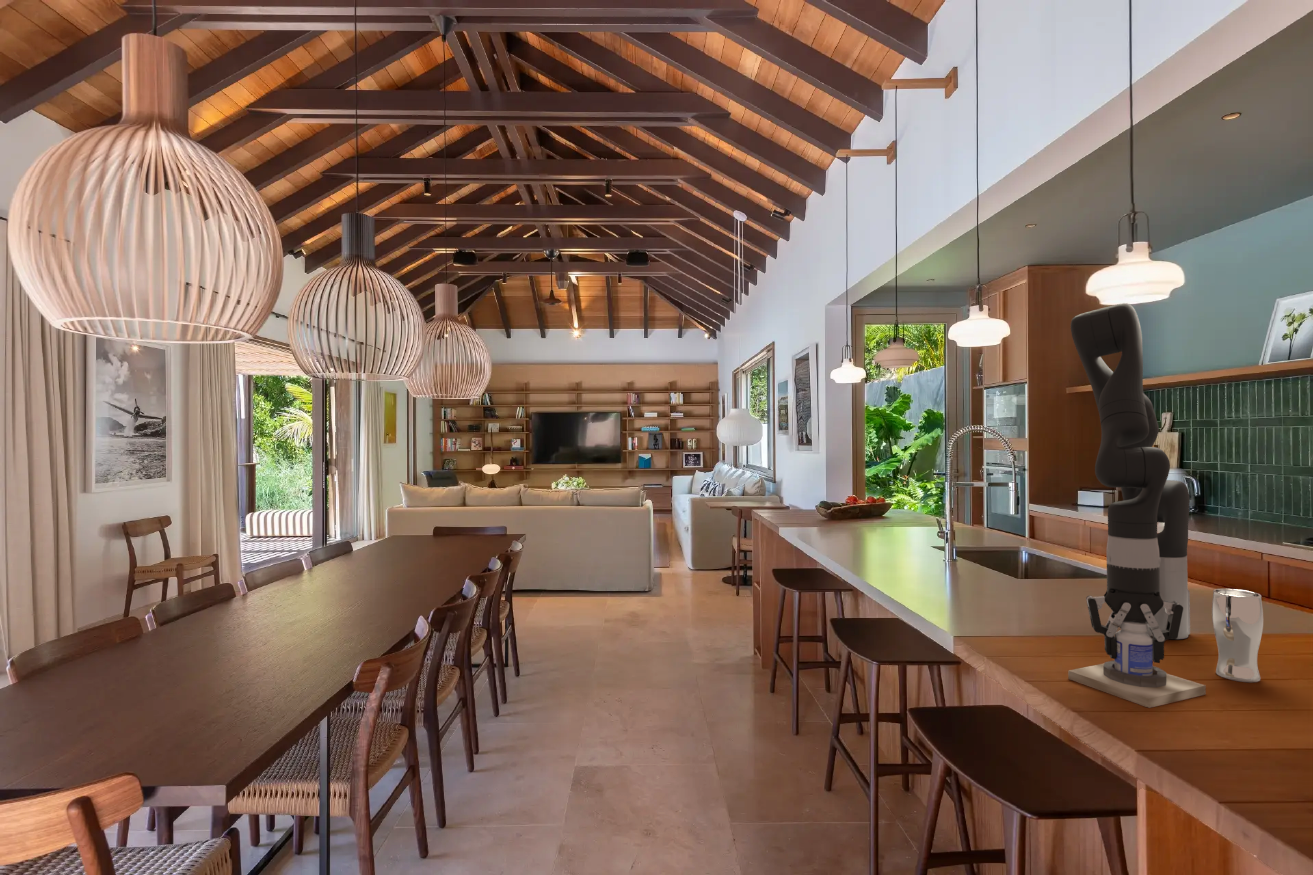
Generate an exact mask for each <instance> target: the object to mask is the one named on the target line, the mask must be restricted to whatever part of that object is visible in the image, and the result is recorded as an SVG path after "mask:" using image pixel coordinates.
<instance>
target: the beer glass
mask: <svg viewBox="0 0 1313 875" xmlns="http://www.w3.org/2000/svg"><path fill="white" fill-rule="evenodd" d="M1211 604H1212V606H1211V619H1212V626H1213V632H1214V636H1215V640H1216V645H1217V650H1218V659H1217V664H1216V669H1215V673H1216V675H1218V676H1219V677H1221V678H1224V679H1228V680H1231V681H1236V682H1243V683H1258V682H1260V681H1261V675H1260V671H1259V666H1258V654H1259V648H1260V645H1261V641H1262V640H1261V639H1262V635H1263V630H1264V609H1263V603H1262V595H1261V594H1260V593H1257V592H1254V591H1249V590H1246V589H1237V588H1236V589H1235V588H1215V589H1213V590H1212V602H1211Z"/></svg>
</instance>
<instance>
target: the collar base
mask: <svg viewBox="0 0 1313 875" xmlns="http://www.w3.org/2000/svg"><path fill="white" fill-rule="evenodd" d="M1114 662H1115V659H1114V660H1109V661H1105V662H1104V663H1099V664H1095V665H1089V666H1085V667H1080V668H1075V669H1074V668H1073V669H1068V671H1067V672H1068V673H1067V676H1068V678H1067V679H1068V680H1070V681H1074V682H1077V683H1079V684H1081V685H1085V686H1087V687H1090V688H1093V689H1095V690H1097V691H1100V692H1104V693H1106V694H1109V695H1112V696H1114V697H1117V698H1119V699H1122V700H1123V699H1124V700H1126V701H1129V702H1130V703H1131V702H1132V703H1133V704H1137V705H1140V706H1143V707H1145V708H1149V709H1151V708H1154V707H1158V706H1163V705H1167V704H1170V703H1171V704H1172V703H1176V702H1179V701H1183V700H1188V699H1192V698H1196V697H1200V696H1204V695H1205V696H1206V694H1207V692H1206V690H1207V687H1206V686H1207V685H1206V684H1202V683H1199V682H1195V681H1193V680H1189V679H1185V678H1182V677H1179V676H1176V675H1173V674H1170V673H1167V672H1166V671H1165V670H1163V669H1162V668H1160V667H1159V666H1158V667H1157V666H1154V665H1153V675H1152V676H1139V675H1133V674H1127V673H1124V672H1121V671H1118V670H1116V669H1115V666H1114V665H1115V664H1114Z"/></svg>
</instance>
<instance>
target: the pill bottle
mask: <svg viewBox="0 0 1313 875" xmlns="http://www.w3.org/2000/svg"><path fill="white" fill-rule="evenodd" d="M1119 629H1120V630H1117V631H1116V633H1115V635H1114V636H1115V638H1116V659H1114V660H1115V662H1114V664H1115V665H1114V666H1115V669H1116V670H1118V671H1121V672H1124V673H1127V674H1133V675H1139V676H1152V675H1153V666H1154V665H1153V663H1154V661H1153V641H1152V638H1153V637H1152V636H1149V635H1148V634H1146V632H1147V630H1148V626H1147V623H1141V622H1137V621H1123V622H1122V624H1121V626H1120V627H1119Z"/></svg>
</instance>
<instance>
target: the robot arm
mask: <svg viewBox="0 0 1313 875" xmlns="http://www.w3.org/2000/svg"><path fill="white" fill-rule="evenodd" d="M1070 333H1071V337H1072V341H1073V344H1074V347H1075V349H1076V351H1077V354H1078V356H1079V359H1080V361H1081V364H1082V367H1083V369H1084V370H1085V371H1084V372H1085V373H1086V377H1087V379H1088V382H1089V385H1090V387H1091V390H1092V391H1093V392H1092V393H1093V396H1094V400H1095V404H1096V407H1097V411H1098V414H1099V421H1100V428H1101V439H1100V440H1101V441H1100V446H1099V449H1098V453H1097V457H1096V460H1095V465H1094V474H1095V476H1096V479H1097V480H1098V482H1100V484H1101V485H1103V486H1105V487H1107V488H1120V491H1121V495H1122V500H1119V501H1114V502H1111V503H1110V504H1109V505H1108V508H1107V534H1108V535H1107V542H1106V591H1105V593H1104V594H1103V595H1102V596H1092V595H1087V596H1086V597H1085V600H1086V605H1087V610H1088V615H1089V618H1090V623H1091V628H1093V630H1094V632H1096V633H1098V634H1102V635H1104V651H1105V653H1106V655H1108V656H1109V658H1110V659H1114V660H1115V659H1116V638H1115V633H1116V632H1118V629H1119V628H1120V626H1121V624H1122V622H1123V621H1137V622H1141V623H1147V626H1148V630H1147V632H1146V634H1148V635H1149V636H1150V637H1151V638H1152V641H1153V663H1154V664H1160V662H1161V661H1163V660H1164V659H1165V642H1166V641H1167V640H1168V641H1169V640H1183V639H1187V638H1189V635H1191V609H1190V608H1191V604H1190V602H1191V599H1190V597H1191V596H1190V595H1191V592H1190V590H1189V588H1188V587H1189V586H1188V585H1189V584H1188V545H1189V543H1188V542H1189V519H1190V500H1191V499H1190V492H1189V489H1188V487H1187V485H1186V484H1185V483H1184V482H1183V481H1181V480H1175V479H1168V478H1169V474H1170V469H1171V465H1170V459H1169V457H1168V455H1167V453H1166V452H1164V450H1162V449H1161V448H1159V447H1154V446H1153V445H1154V444H1155V443H1156V440H1157V439H1158V435H1159V431H1160V430H1159V429H1160V428H1159V423H1158V420H1157V416H1156V412H1155V410H1154V405H1153V403H1152V401H1151V399H1150V398H1149V397H1148V396H1147V395H1146V394H1145V393H1144V386H1143V385H1144V378H1143V377H1144V360H1143V359H1144V357H1143V356H1144V355H1143V352H1144V351H1143V350H1144V349H1143V334H1142V333H1143V332H1142V328H1141V323H1140V319H1139V316H1138V313H1137V311H1136V309H1135V308H1134V306H1132V304H1130V303H1128V302H1127V303H1125V302H1123V303H1118V304H1113V305H1110V306H1106V307H1102V308H1097V309H1094V310H1091V311H1086V312H1084V313H1080V314H1077V315H1075V316H1074V317H1073V318H1071V322H1070ZM1117 353H1121V355H1120V359H1119V362H1118V363H1117V365H1116V368H1115V369H1114V371H1113V370H1112V369H1111V368H1109V366H1108V365H1107V364H1106V362H1105V361H1104V360H1103V358H1102V357H1105V356H1108V355H1112V354H1117ZM1158 523H1162V524H1163V523H1164V524H1163V529H1162V530H1161V531H1160V532H1158ZM1104 603H1105V604H1106V605H1107V606H1108V608H1109V609H1111V613H1110V614H1109V616H1108V619H1107V622H1106V623H1105V625H1103V624H1102V622H1101V617H1100V613H1099V610H1101V609H1102V608H1103V605H1104Z"/></svg>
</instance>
